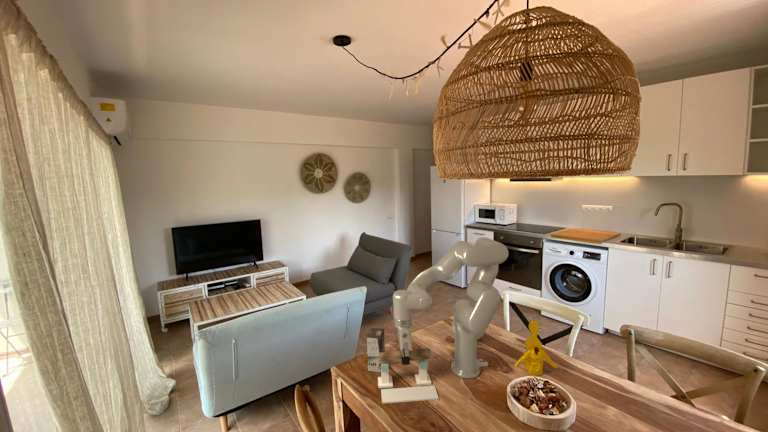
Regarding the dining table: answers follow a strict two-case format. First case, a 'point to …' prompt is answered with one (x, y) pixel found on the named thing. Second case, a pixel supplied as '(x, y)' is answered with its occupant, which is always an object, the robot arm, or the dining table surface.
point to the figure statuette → (534, 352)
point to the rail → (397, 355)
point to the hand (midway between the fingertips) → (405, 361)
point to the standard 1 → (385, 377)
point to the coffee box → (375, 348)
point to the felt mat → (409, 394)
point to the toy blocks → (423, 374)
